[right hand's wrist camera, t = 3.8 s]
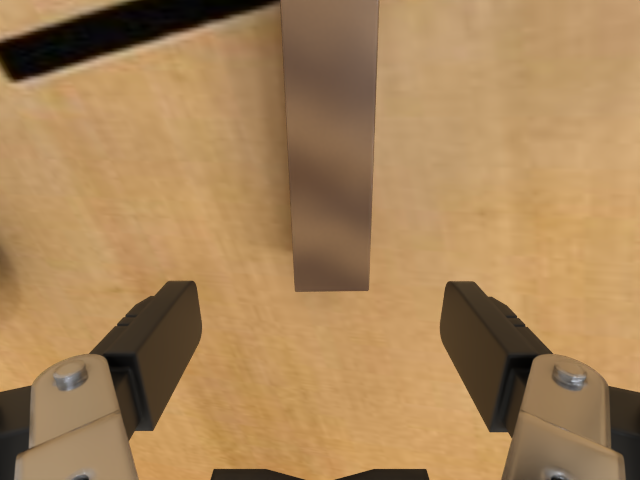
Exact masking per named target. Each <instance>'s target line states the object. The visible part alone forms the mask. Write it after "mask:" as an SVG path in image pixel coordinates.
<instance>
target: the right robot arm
mask: <svg viewBox="0 0 640 480" xmlns="http://www.w3.org/2000/svg"><path fill="white" fill-rule="evenodd" d="M201 333H202V321H201V314H200V307H199V300H198V293H197V287H196V284H195V282H194V281H168V282H167V283H166V284H165V285H164V286H163V287H162V288H161V289H160V291H159V292H158V293H157V294H156V295H155V296H150V297H148V298H147V299H145V300H143V301H141V302H140V303H138V304H136V305H135V306H134V307H133V308H132V309H131V310H130V311H129V312H128V313H127V314H126V317H124V318H123V319H122V320H121V321H120V322H119V323H118V324H117V326H115V327H114V328H113V329H112V330H111V331H110V332H109V333H108V334H107V335H106V336H105V337H104V339H103V340H102V341H101V342H100V343H99V344H98V345H97V346H96V347H95V348H94V349H93V350H92V351H91V352H90V353H89V354H84V355H78V356H74V357H71V358H68V359H65V360H63V361H60V362H58V363H56V364H54V365H53V366H51V367H49V368H48V369H46V370H45V371H44V372H42V373H41V374H40V375H39V376H38V377H37V378H36V379H35V381H34V382H33V384H32V385H31V386H27V387H22V388H17V389H13V390H8V391H3V392H0V480H139V478H138V475H137V471H136V467H135V463H134V459H133V456H132V452H131V448H130V444H129V440H130V438H131V436H132V435H133V433H134V431H153V430H154V428H155V426H156V424H157V422H158V420H159V418H160V417H161V415H162V413H163V411H164V409H165V407H166V405H167V403H168V401H169V399H170V397H171V395H172V394H173V392H174V390H175V388H176V386H177V384H178V382H179V380H180V378H181V376H182V374H183V372H184V371H185V369H186V367H187V365H188V363H189V361H190V359H191V357H192V355H193V353H194V351H195V350H196V348H197V346H198V344H199V341H200V338H201ZM440 335H441V339H442V343H443V345H444V347H445V349H446V350H447V352H448V354H449V356H450V358H451V360H452V362H453V364H454V366H455V367H456V369H457V371H458V373H459V375H460V377H461V379H462V381H463V383H464V384H465V386H466V388H467V390H468V392H469V394H470V396H471V398H472V400H473V401H474V403H475V405H476V407H477V409H478V411H479V413H480V415H481V417H482V418H483V420H484V422H485V424H486V426H487V428H488V430H489V432H508V433H509V434H510V436H511V438H512V441H511V444H510V448H509V452H508V456H507V459H506V463H505V467H504V471H503V475H502V478H501V480H640V393H639V392H634V391H630V390H625V389H620V388H615V387H611V386H608V384H607V382H606V381H605V379H604V378H603V377H602V376H601V375H600V374H599V373H598V372H596V371H595V370H594V369H592V368H591V367H589V366H587V365H586V364H584V363H582V362H580V361H577V360H575V359H572V358H569V357H566V356H562V355H556V354H553V353H552V352H551V351H550V350H549V349H548V348H547V347H546V346H545V345H544V344H543V343H542V342H541V341H540V340H539V339H538V338H537V336H536V335H535V334H534V333H533V332H532V331H531V330H530V329H529V328H528V327H525V324H524V323H523V322H522V321H521V320H520V319H519V318H517V316H516V315H515V314H514V313H513V311H512V310H511V309H510V308H509V307H508V306H507V305H505V304H503V303H501V302H500V301H498V300H496V299H495V298H493V297H488V296H487V295H486V294H485V293H484V292H483V291H482V290H481V289H480V288H479V286H478V285H477V284H476V283H475V282H473V281H449V282H448V283H447V284H446V287H445V293H444V300H443V307H442V314H441V320H440ZM211 480H304V479H300V478H297V477H293V476H289V475H286V474H282V473H278V472H275V471H271V470H267V469H214V470H213V473H212V477H211ZM336 480H429V477H428V473H427V470H426V469H373V470H369V471H365V472H362V473H358V474H354V475H351V476H347V477H343V478H340V479H336Z"/></svg>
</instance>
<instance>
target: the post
mask: <svg viewBox="0 0 640 480" xmlns="http://www.w3.org/2000/svg"><path fill="white" fill-rule="evenodd" d="M280 6H281V26H282V46H283V65H284V85H285V105H286V125H287V144H288V164H289V184H290V204H291V223H292V243H293V263H294V283H295V291H296V292H312V291H368V290H369V271H370V244H371V216H372V188H373V161H374V133H375V105H376V78H377V50H378V22H379V0H280Z"/></svg>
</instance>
